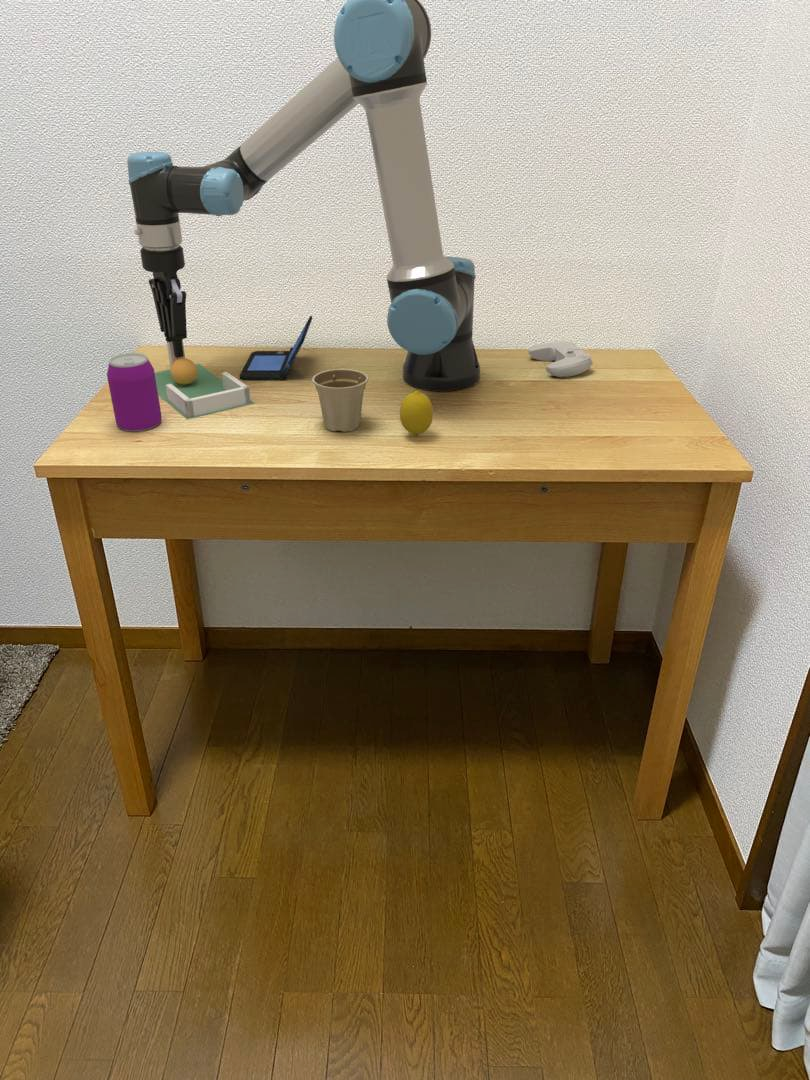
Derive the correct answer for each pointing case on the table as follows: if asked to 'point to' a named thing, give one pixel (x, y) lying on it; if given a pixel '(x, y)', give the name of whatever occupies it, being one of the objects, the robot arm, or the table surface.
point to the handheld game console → (272, 362)
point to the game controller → (562, 358)
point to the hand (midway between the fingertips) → (179, 371)
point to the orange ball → (184, 371)
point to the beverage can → (133, 392)
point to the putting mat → (192, 387)
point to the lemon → (416, 413)
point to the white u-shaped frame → (211, 398)
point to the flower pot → (341, 397)
